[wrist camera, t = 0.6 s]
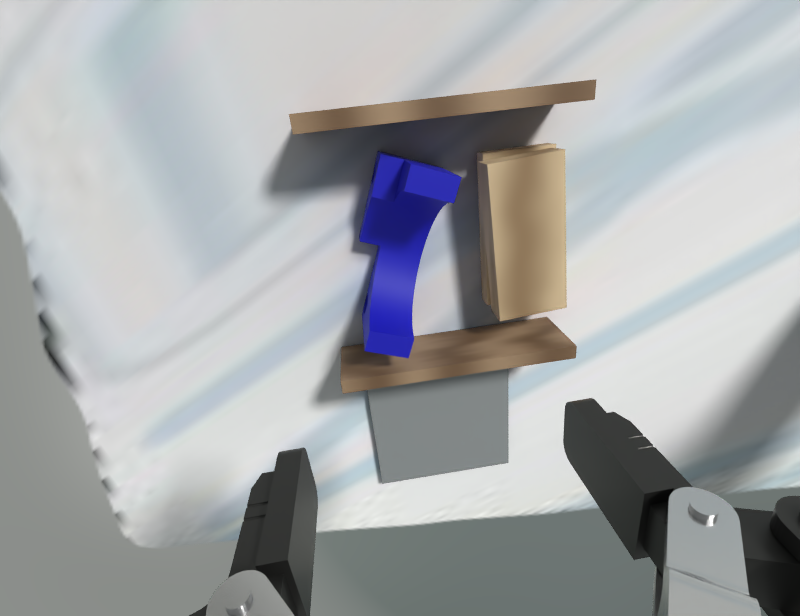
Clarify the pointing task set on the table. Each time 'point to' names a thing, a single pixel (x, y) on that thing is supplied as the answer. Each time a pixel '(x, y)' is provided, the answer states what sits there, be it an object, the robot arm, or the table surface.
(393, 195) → the blue curved piece
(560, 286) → the upper offcut
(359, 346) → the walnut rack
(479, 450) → the rubber mat
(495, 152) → the lower offcut
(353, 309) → the table surface
